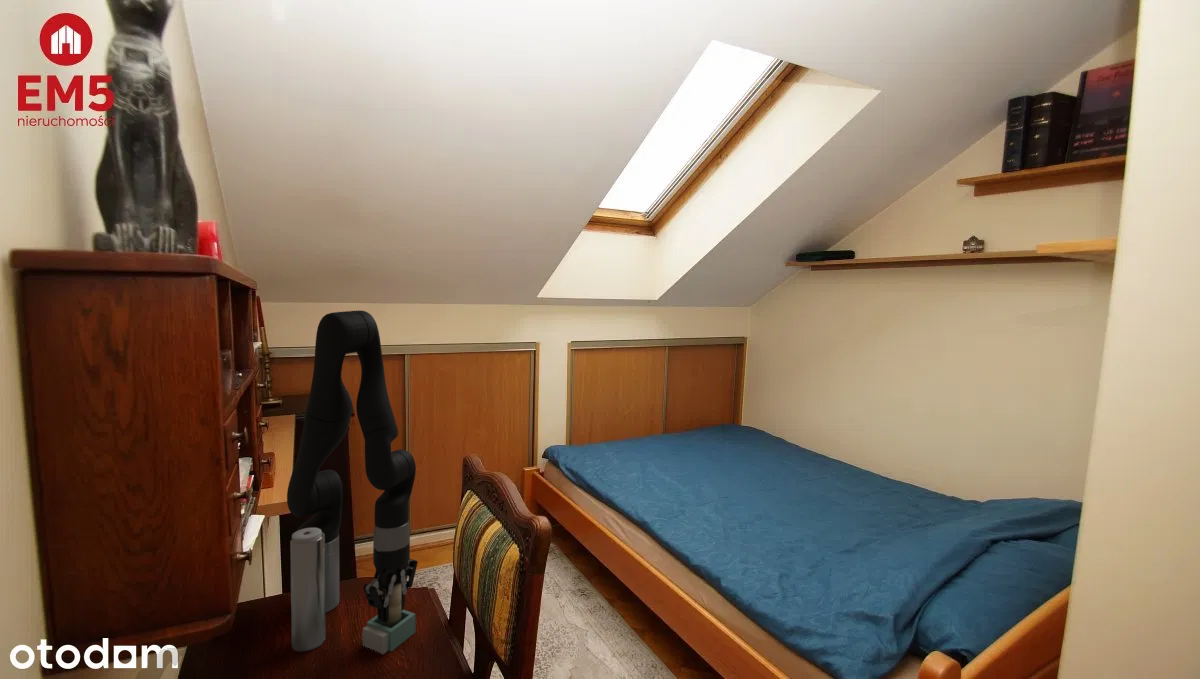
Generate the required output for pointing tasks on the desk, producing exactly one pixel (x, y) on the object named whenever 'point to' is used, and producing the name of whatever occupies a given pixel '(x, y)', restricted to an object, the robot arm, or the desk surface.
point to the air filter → (307, 589)
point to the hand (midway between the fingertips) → (391, 614)
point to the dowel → (394, 606)
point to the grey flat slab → (375, 639)
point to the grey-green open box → (396, 629)
